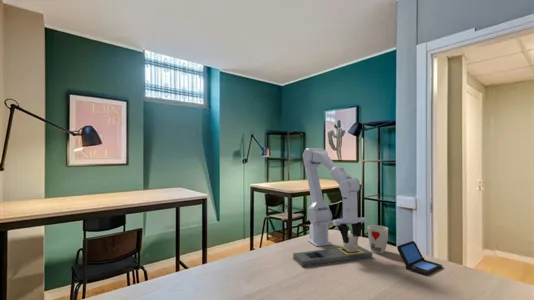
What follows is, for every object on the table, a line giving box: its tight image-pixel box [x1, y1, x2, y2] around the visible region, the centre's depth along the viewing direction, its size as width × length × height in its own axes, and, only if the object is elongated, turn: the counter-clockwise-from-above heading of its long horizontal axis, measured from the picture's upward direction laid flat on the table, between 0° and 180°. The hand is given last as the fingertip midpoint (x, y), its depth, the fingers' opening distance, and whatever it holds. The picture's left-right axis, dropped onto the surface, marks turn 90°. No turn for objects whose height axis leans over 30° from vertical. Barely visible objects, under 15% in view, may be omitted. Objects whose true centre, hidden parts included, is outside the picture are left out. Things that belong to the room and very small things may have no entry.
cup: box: [367, 224, 389, 254], centre depth 118 cm, size 8×8×10 cm
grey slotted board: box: [292, 245, 373, 268], centre depth 111 cm, size 9×30×2 cm, turn 107°
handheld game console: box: [396, 240, 443, 276], centre depth 102 cm, size 12×11×7 cm
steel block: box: [342, 233, 359, 253], centre depth 113 cm, size 4×4×6 cm
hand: (350, 242), depth 113 cm, fingers closed on steel block, 4 cm apart
